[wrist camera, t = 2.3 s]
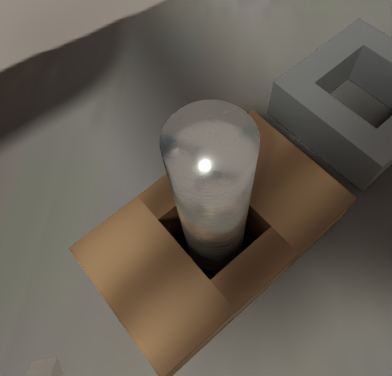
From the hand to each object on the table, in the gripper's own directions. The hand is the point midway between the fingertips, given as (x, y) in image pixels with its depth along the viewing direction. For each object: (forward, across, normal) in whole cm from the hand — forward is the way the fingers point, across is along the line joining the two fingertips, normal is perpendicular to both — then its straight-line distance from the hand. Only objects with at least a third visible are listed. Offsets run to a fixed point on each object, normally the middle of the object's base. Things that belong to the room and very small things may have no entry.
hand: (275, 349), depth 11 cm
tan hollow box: (+22, 0, -8) cm, 23 cm away
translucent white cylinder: (+22, 0, -8) cm, 23 cm away
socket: (+30, +17, 0) cm, 34 cm away
